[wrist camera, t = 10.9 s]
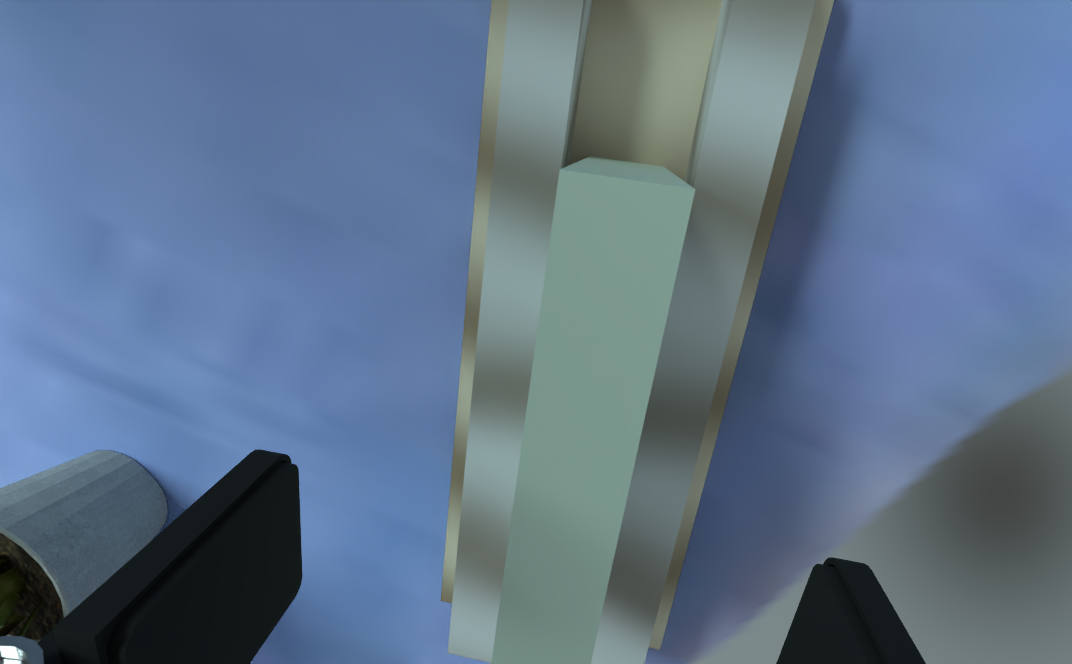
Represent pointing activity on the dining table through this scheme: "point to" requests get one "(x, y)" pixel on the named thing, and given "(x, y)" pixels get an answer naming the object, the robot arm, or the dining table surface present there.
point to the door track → (702, 277)
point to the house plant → (71, 536)
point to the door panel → (587, 400)
